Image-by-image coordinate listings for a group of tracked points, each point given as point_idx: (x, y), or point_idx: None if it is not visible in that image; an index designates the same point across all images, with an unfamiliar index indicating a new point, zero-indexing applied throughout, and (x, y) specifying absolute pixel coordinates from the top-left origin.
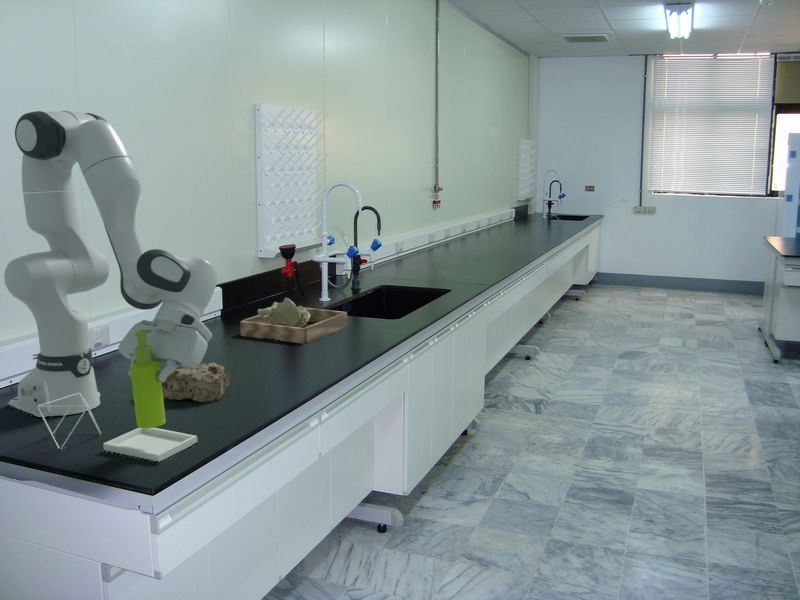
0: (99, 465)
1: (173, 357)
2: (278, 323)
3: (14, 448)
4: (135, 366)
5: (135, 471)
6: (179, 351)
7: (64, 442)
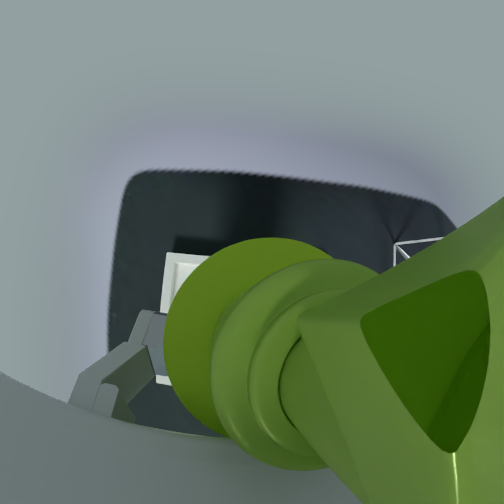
0: (280, 210)
1: (40, 397)
2: None
3: (447, 227)
4: (288, 251)
5: (194, 210)
6: (1, 431)
7: (398, 247)
